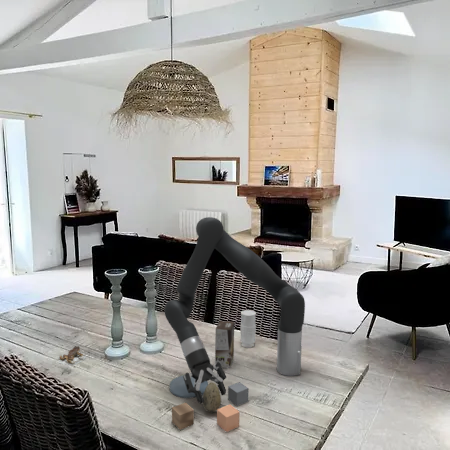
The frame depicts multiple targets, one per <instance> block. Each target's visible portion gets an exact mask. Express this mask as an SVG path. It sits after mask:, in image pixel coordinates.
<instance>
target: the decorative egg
mask: <svg viewBox="0 0 450 450" xmlns="http://www.w3.org/2000/svg"><path fill="white" fill-rule="evenodd" d="M217 385H218V384H217V383H215V382H214V381H211V382H208V385H207V387H206V389H205V391H204V394H203V395H202V396H203V398H204V403H202V405H203V408H204V409H205V410H206V412H207V413H210V414H211V413H215V412H216V413H217V409H220V408H221V404H222V397H221V396H222V395H221V393H220V390H219V388H218V386H217Z"/></svg>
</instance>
